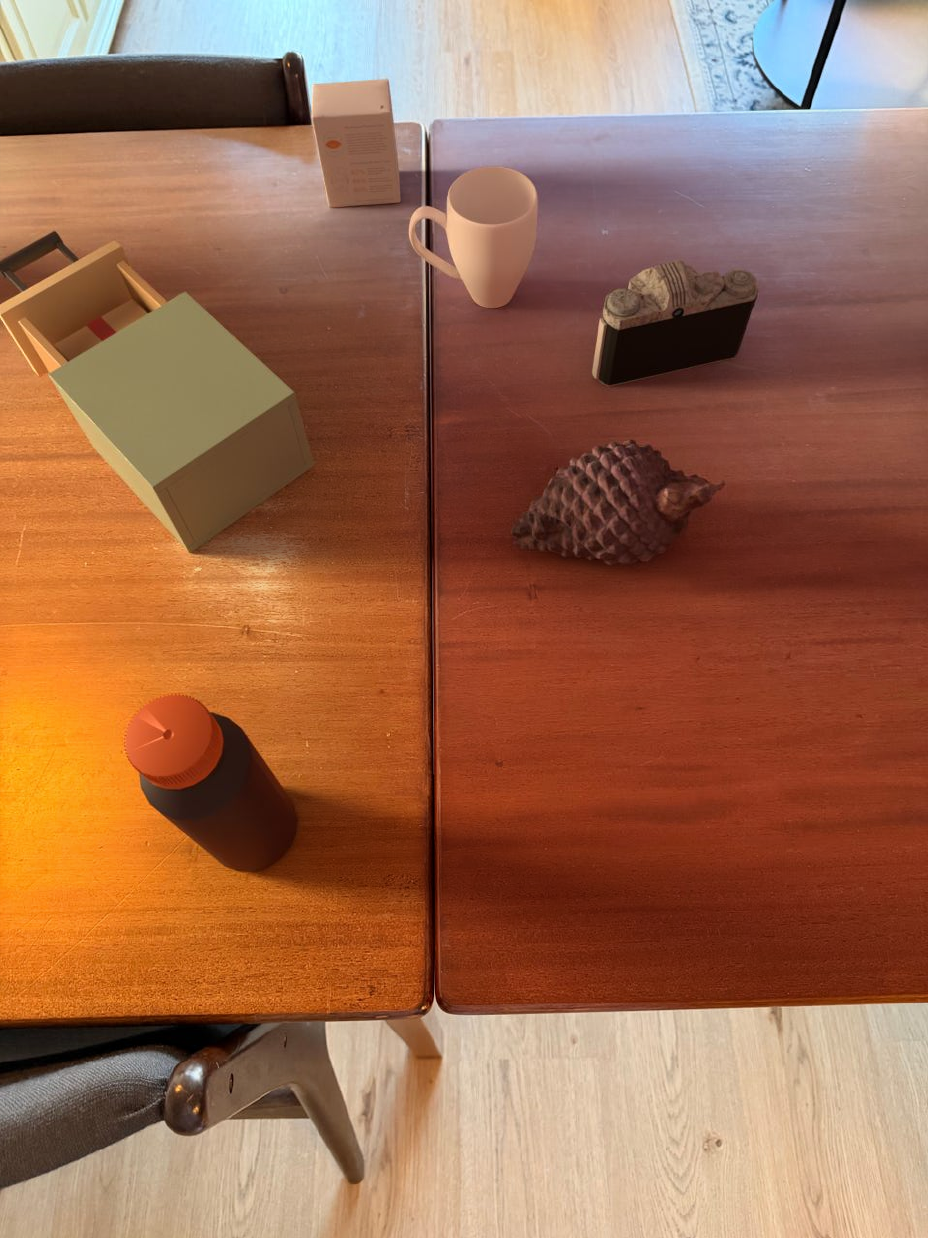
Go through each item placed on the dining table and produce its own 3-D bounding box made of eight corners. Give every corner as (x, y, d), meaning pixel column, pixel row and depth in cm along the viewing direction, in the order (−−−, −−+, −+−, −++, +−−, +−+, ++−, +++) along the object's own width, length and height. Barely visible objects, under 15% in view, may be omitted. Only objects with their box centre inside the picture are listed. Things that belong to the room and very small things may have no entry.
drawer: (-4, 330, 90) (-45, 266, 83) (105, 267, 93) (74, 201, 86) (114, 459, 82) (79, 400, 75) (227, 385, 86) (204, 323, 79)
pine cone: (527, 611, 75) (492, 507, 70) (525, 552, 83) (494, 455, 78) (743, 559, 71) (724, 445, 66) (719, 502, 79) (700, 397, 74)
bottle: (195, 864, 66) (87, 783, 48) (223, 776, 69) (131, 669, 51) (284, 881, 65) (208, 805, 47) (309, 791, 68) (245, 688, 50)
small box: (399, 170, 101) (390, 76, 91) (401, 204, 98) (392, 111, 89) (327, 174, 101) (311, 81, 91) (327, 208, 98) (310, 116, 89)
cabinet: (93, 447, 84) (47, 373, 75) (215, 369, 88) (185, 290, 79) (189, 553, 78) (152, 487, 70) (315, 465, 82) (294, 391, 74)
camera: (717, 308, 90) (742, 223, 81) (744, 358, 87) (773, 275, 78) (576, 339, 88) (586, 256, 80) (598, 391, 85) (611, 310, 77)
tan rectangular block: (71, 375, 85) (53, 343, 81) (146, 330, 88) (131, 297, 84) (90, 395, 84) (72, 364, 80) (165, 348, 86) (151, 316, 83)
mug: (531, 263, 93) (536, 163, 83) (534, 322, 90) (539, 225, 80) (416, 265, 94) (407, 166, 84) (413, 324, 90) (403, 227, 80)
